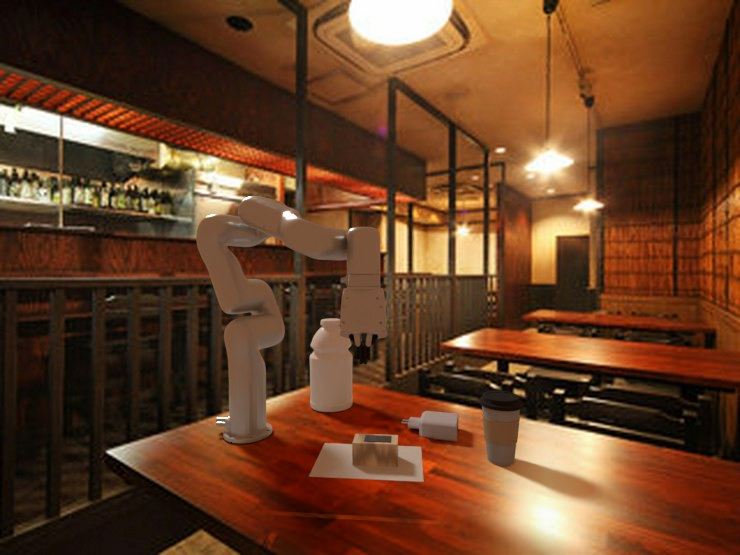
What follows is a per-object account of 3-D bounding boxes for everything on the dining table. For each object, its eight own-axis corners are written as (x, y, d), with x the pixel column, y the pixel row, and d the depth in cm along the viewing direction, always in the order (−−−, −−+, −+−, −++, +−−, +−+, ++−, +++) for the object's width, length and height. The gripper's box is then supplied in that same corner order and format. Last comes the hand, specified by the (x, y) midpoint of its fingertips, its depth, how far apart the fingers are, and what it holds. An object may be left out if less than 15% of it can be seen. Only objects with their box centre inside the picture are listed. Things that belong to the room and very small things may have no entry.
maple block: (352, 442, 88) (397, 443, 87) (355, 432, 93) (398, 434, 92) (352, 465, 88) (397, 467, 87) (355, 454, 93) (398, 456, 92)
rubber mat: (308, 479, 83) (308, 476, 83) (324, 445, 99) (324, 443, 99) (423, 484, 81) (423, 481, 81) (421, 449, 97) (421, 446, 97)
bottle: (320, 396, 137) (319, 316, 136) (358, 400, 133) (357, 317, 133) (302, 411, 123) (301, 321, 123) (344, 415, 120) (344, 322, 119)
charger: (405, 423, 113) (458, 429, 109) (398, 436, 104) (456, 443, 100) (405, 407, 113) (458, 412, 109) (398, 419, 104) (456, 424, 100)
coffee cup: (523, 455, 93) (523, 392, 93) (520, 474, 85) (520, 404, 84) (482, 447, 97) (482, 387, 97) (475, 465, 89) (475, 398, 88)
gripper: (327, 282, 86) (327, 366, 87) (396, 282, 85) (396, 367, 85) (334, 281, 94) (334, 358, 94) (397, 281, 92) (397, 359, 93)
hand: (363, 362), depth 90 cm, fingers closed
